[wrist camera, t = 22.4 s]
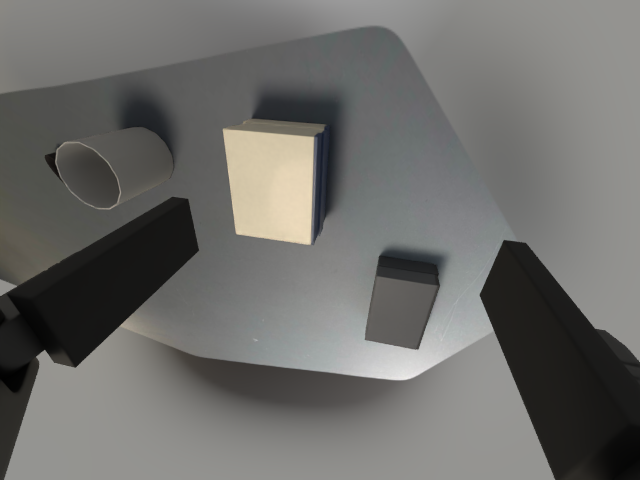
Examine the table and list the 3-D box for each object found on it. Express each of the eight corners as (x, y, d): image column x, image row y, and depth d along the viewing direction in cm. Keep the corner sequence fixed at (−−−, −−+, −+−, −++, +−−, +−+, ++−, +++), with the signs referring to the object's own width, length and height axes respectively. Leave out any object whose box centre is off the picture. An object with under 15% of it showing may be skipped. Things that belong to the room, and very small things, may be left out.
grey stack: (436, 264, 42) (442, 285, 38) (416, 326, 49) (419, 350, 44) (377, 255, 43) (376, 275, 39) (366, 317, 50) (364, 340, 46)
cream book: (322, 132, 31) (317, 137, 29) (317, 235, 38) (313, 245, 36) (233, 125, 32) (222, 128, 30) (244, 225, 39) (235, 234, 37)
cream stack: (332, 125, 35) (324, 132, 31) (326, 220, 42) (319, 236, 38) (251, 118, 37) (233, 124, 32) (258, 211, 43) (244, 226, 39)
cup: (134, 182, 45) (76, 208, 37) (112, 127, 41) (42, 142, 33) (180, 183, 44) (131, 210, 35) (163, 126, 40) (102, 141, 31)
